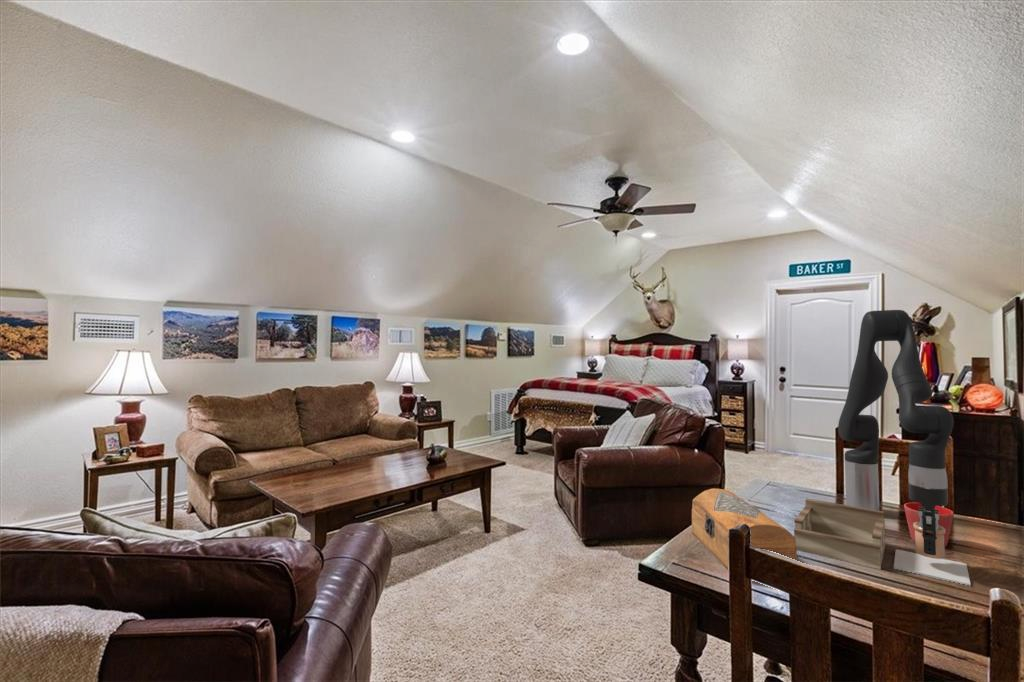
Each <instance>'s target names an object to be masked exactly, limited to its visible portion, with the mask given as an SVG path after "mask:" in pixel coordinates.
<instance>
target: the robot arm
mask: <svg viewBox="0 0 1024 682" xmlns="http://www.w3.org/2000/svg"><path fill="white" fill-rule="evenodd" d="M914 329H915V328H914V326H913V323H912V319H911V316H909V314H908V312H906V311H905V310H903V309H883V310H881V309H880V310H869V311H867V312H866V313H865V314H864V315H863V316H862V319H861V323H860V330H859V331H860V332H859V340H858V345H857V347H858V349H857V352H856V356H855V362H854V365H853V369H852V372H851V377H850V381H849V386H848V392H847V397H846V399H845V403H844V405H843V408H842V411H841V414H840V416H839V419H838V425H837V432H838V435H839V437H840V438H841V439H842V440H843V441H846V442H855V443H857V442H858V443H861V442H862V444H861V445H860V446H858V447H856V448H852V449H849V450H846V451H845V452H844V476H845V477H844V478H845V479H844V481H845V485H844V486H845V487H844V488H845V505H848V506H854V507H860V508H866V509H872V510H878V511H880V490H879V489H880V488H879V487H880V486H879V485H880V484H879V443H880V441H879V439H880V428H879V427H880V425H879V422H878V420H877V417H876V416H874V415H870V414H861V413H862V412H863V410H864V409H866V408H867V407H869V406H871V404H873V403H875V402H877V400H879V399H880V397H882V395H883V394H884V392H885V390H886V387H887V383H888V378H889V372H888V370H887V368H886V366H885V365H884V363H883V361H882V360H881V359H880V357H879V356H878V354H877V352H876V351H875V350H876V349H875V347H876V344H877V342H898V344H899V347H900V351H899V353H898V355H897V357H896V359H895V361H894V363H893V366H892V367H891V379H892V380H891V381H892V382H893V385H894V387H895V390H896V393H897V396H898V422H899V424H900V426H901V427H902V428H903V430H905V431H907V432H909V433H914V434H928V436H927V438H926V439H923V440H919V441H913V442H910V444H909V445H908V471H907V472H908V474H907V475H908V477H907V478H908V480H907V482H908V499H909V500H910V501H911V502H915V503H921V504H922V507H918V514H919V517H920V527H921V528H922V529H923V534H922V537H923V538H924V552H925V553H926V554H930V555H936V544H935V541H936V539H937V537H936V531H938V520H939V510H936V509H934V508H935V506H940V507H945V506H947V505H948V504H949V495H948V494H949V493H948V489H949V487H948V475H947V474H948V473H947V470H946V450H947V446H948V442H949V439H950V436H951V435H952V432H953V428H954V422H955V421H954V416H953V414H952V413H951V411H950V410H949V409H948V408H947V407H945V406H942V405H921V403H924V402H928V400H930V399H931V398H932V396H933V392H932V391H933V390H932V388H931V386H930V384H929V381H928V379H927V377H926V374H925V372H924V369H923V367H922V362H921V359H920V354H919V349H918V344H917V340H916V335H915V330H914ZM918 404H920V405H918ZM925 530H930V531H933V534H927V533H926V534H925Z"/></svg>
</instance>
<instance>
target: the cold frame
mask: <svg viewBox="0 0 1024 682" xmlns="http://www.w3.org/2000/svg"><path fill="white" fill-rule="evenodd" d="M804 502H805V505H804V506H803V508H802V509H801V511H800V512H799V513H798V514H797V516H796V517H795V519H794V529H793V532H794V533H793V534H794V535H793V536H794V537H795V540H796V548H797V551H800V552H804V553H808V554H813V555H818V556H821V557H826V558H830V559H834V560H839V561H843V562H847V563H852V564H855V565H861V566H864V567H869V568H873V569H877V570H881V569H882V564H883V559H884V555H885V548H886V538H885V537H886V533H885V532H886V531H885V527H886V526H885V521H886V520H885V511H883V510H879V511H878V510H872V509H866V508H860V507H854V506H848V505H846V504H841V503H837V502H836V503H835V502H830V501H823V500H818V499H810V498H807V497H806V498H805V500H804Z"/></svg>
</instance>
